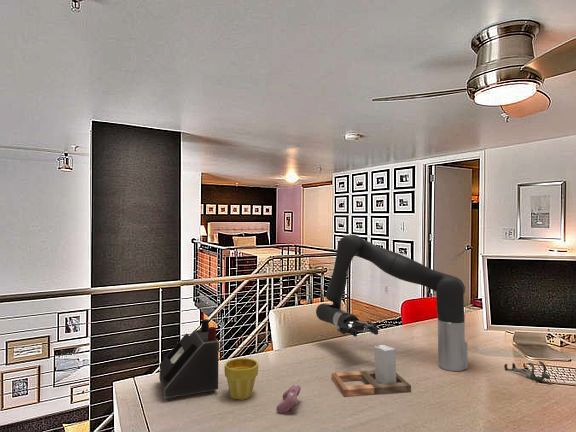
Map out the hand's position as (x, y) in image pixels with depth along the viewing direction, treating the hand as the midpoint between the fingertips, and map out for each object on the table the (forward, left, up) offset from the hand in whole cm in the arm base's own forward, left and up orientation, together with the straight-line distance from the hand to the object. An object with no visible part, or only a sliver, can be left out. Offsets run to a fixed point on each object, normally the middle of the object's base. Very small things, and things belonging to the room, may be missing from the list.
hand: (366, 332), depth 140 cm
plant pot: (+45, +12, -14) cm, 49 cm away
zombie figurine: (-53, +13, -14) cm, 57 cm away
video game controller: (+32, +22, -14) cm, 41 cm away
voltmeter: (+62, +4, -14) cm, 64 cm away
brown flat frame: (+3, +11, -14) cm, 18 cm away
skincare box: (-2, +11, -14) cm, 18 cm away
